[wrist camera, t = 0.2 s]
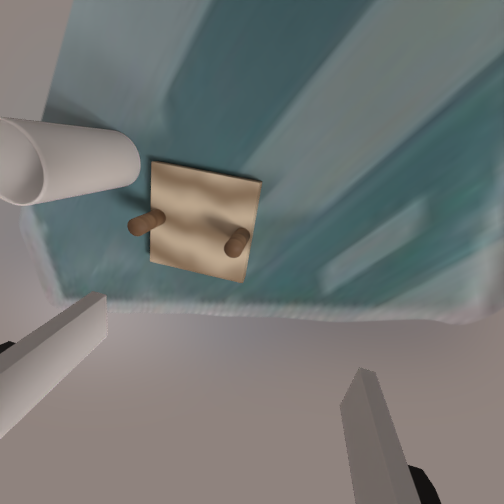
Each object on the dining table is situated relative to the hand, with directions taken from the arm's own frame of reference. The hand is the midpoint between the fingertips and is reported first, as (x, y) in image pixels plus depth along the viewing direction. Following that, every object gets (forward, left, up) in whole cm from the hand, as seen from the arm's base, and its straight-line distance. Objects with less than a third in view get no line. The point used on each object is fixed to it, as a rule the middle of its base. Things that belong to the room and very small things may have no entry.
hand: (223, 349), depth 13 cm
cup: (-4, -26, -28) cm, 38 cm away
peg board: (+3, -11, -28) cm, 30 cm away
